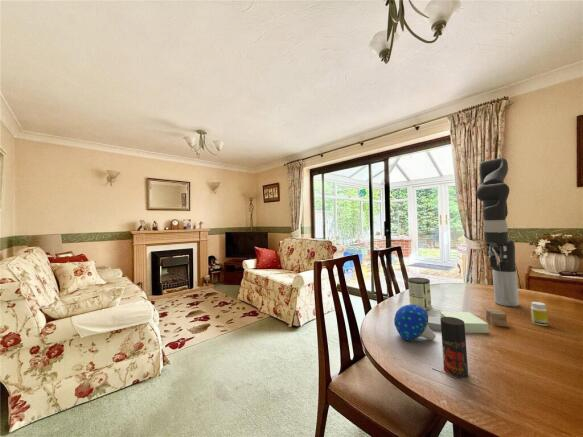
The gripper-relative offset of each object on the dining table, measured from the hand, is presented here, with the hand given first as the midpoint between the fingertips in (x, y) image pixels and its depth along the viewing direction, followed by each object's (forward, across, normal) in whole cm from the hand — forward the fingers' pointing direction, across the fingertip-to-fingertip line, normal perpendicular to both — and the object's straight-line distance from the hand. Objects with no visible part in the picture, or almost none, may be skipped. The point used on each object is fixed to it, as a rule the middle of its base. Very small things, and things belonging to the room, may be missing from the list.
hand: (498, 269), depth 98 cm
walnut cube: (+23, -1, -2) cm, 23 cm away
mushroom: (+23, +22, -36) cm, 48 cm away
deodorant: (+23, +41, -28) cm, 54 cm away
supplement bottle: (+24, -4, +14) cm, 28 cm away
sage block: (+24, +5, -16) cm, 29 cm away
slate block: (+23, +9, -26) cm, 36 cm away
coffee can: (+24, -16, -28) cm, 40 cm away
